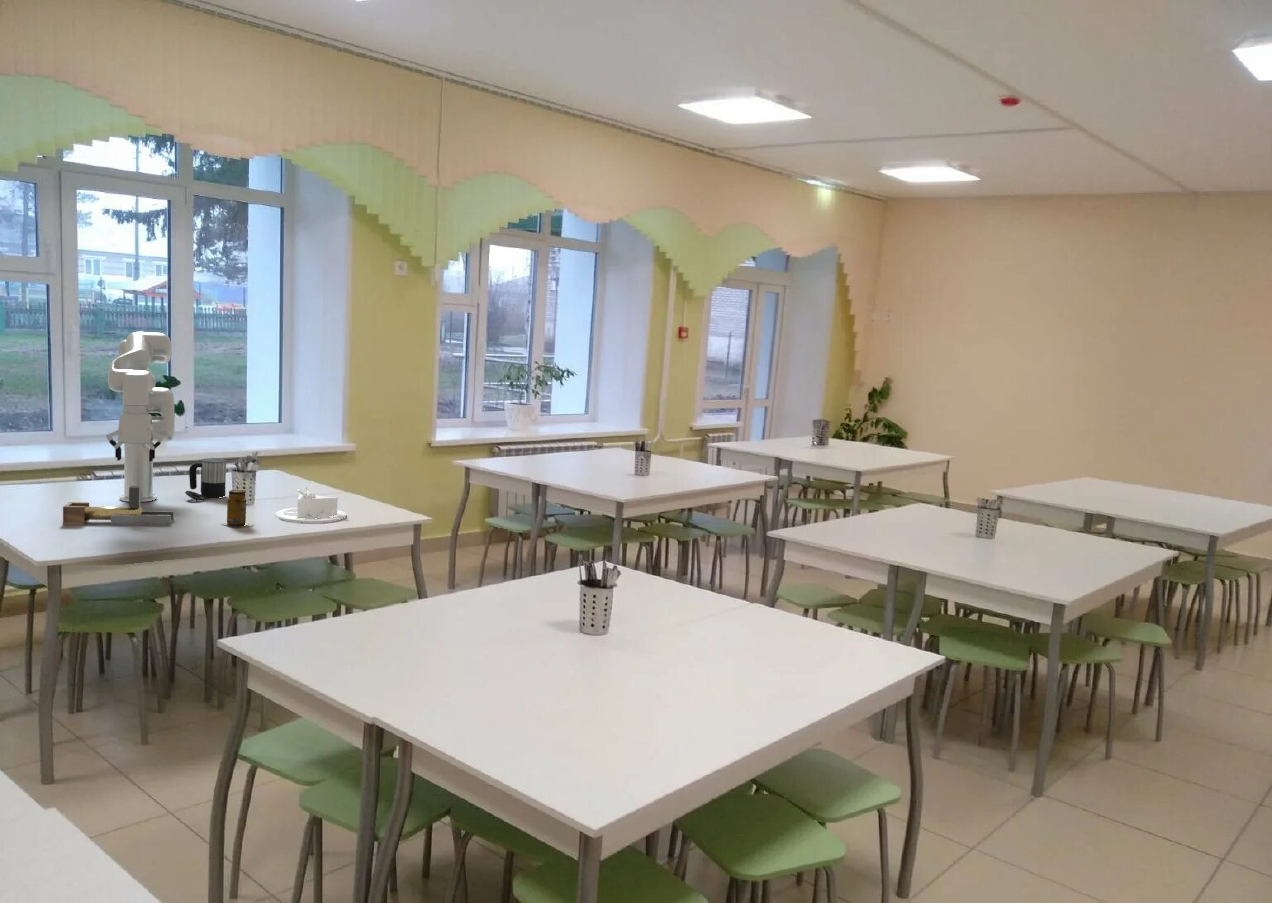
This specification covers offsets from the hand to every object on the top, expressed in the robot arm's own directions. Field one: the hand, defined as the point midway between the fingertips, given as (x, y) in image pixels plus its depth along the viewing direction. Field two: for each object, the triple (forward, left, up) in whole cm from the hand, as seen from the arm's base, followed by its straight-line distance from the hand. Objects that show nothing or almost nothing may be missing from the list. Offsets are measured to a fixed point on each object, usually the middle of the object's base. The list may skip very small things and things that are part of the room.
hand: (135, 460), depth 322 cm
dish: (-13, +57, -22) cm, 62 cm away
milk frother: (-44, +18, -22) cm, 52 cm away
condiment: (+3, +33, -22) cm, 39 cm away
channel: (0, +3, -21) cm, 21 cm away
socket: (0, -17, -21) cm, 28 cm away
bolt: (0, -8, -21) cm, 23 cm away
